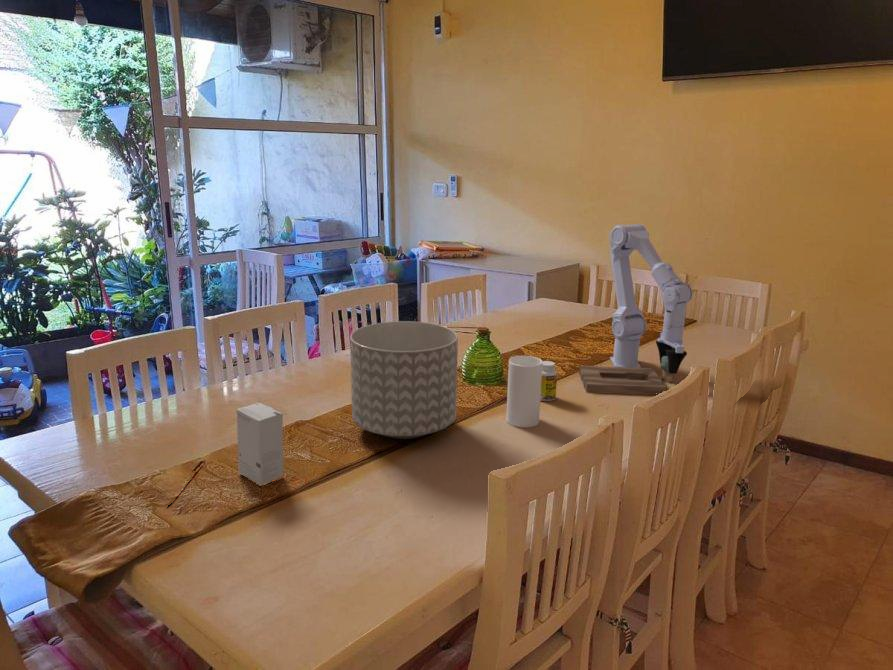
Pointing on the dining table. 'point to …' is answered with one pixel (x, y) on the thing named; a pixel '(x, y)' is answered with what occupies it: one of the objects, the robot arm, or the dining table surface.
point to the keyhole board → (621, 380)
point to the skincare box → (260, 443)
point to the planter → (404, 378)
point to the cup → (524, 391)
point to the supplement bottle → (548, 381)
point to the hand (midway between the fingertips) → (668, 368)
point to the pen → (198, 465)
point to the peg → (666, 370)
